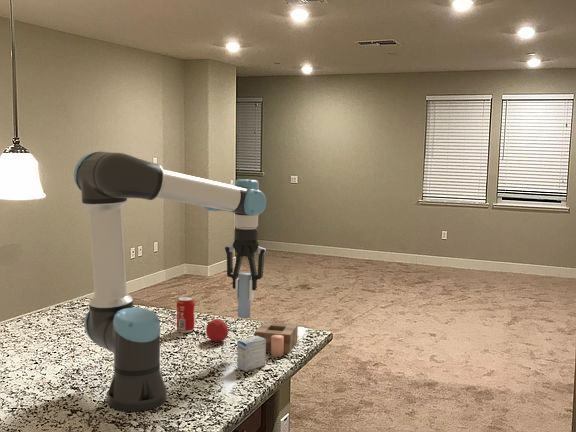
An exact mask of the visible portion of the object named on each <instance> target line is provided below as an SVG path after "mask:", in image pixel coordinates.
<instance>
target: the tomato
mask: <svg viewBox="0 0 576 432" xmlns="http://www.w3.org/2000/svg"><path fill="white" fill-rule="evenodd" d="M227 325H228V324H227V323H225V322H224V320H222V319H219V318H216V319H212V320H211V321H208V324H207V325H206V329H205V331H206V332H205V333H206V336H207V338H208V339H209V340H210V341H212V342H215V343H219V342H220V343H221V342H222V341H224V340H226V339H227V337H228V335H229V328H228V326H227Z"/></svg>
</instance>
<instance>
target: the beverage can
mask: <svg viewBox="0 0 576 432" xmlns="http://www.w3.org/2000/svg"><path fill="white" fill-rule="evenodd" d="M194 329H195V301H194V299H193V297H192V296H191V297H190V296H181V297H179V298H178V300H177V302H176V330H177V331H178V332H179V333H185V334H187V333H192V332H193V330H194Z"/></svg>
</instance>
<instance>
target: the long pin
mask: <svg viewBox="0 0 576 432" xmlns="http://www.w3.org/2000/svg"><path fill="white" fill-rule="evenodd" d="M238 276H239V277H238V278H239V287H238V300H237V318H239V319H240V318H241V319H247V318H250V317H251V301H249V282H250V280H251V279H252V277H251V272H250V273H249V272H239V275H238Z"/></svg>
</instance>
